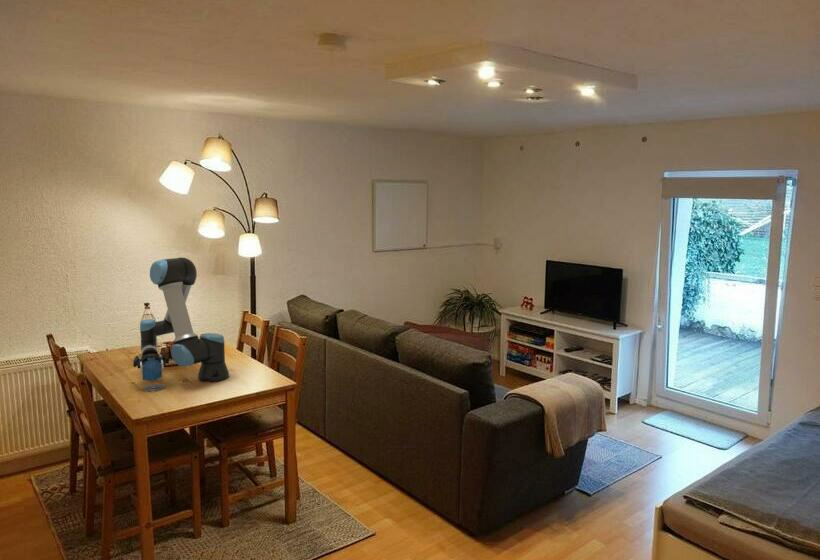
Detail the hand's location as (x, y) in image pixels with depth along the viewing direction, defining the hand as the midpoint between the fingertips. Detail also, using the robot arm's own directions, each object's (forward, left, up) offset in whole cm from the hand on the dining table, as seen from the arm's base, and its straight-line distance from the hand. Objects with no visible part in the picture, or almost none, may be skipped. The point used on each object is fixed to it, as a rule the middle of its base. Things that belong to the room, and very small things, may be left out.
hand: (152, 367), depth 282 cm
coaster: (+3, -3, -12) cm, 13 cm away
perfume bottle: (+3, -3, -7) cm, 9 cm away
